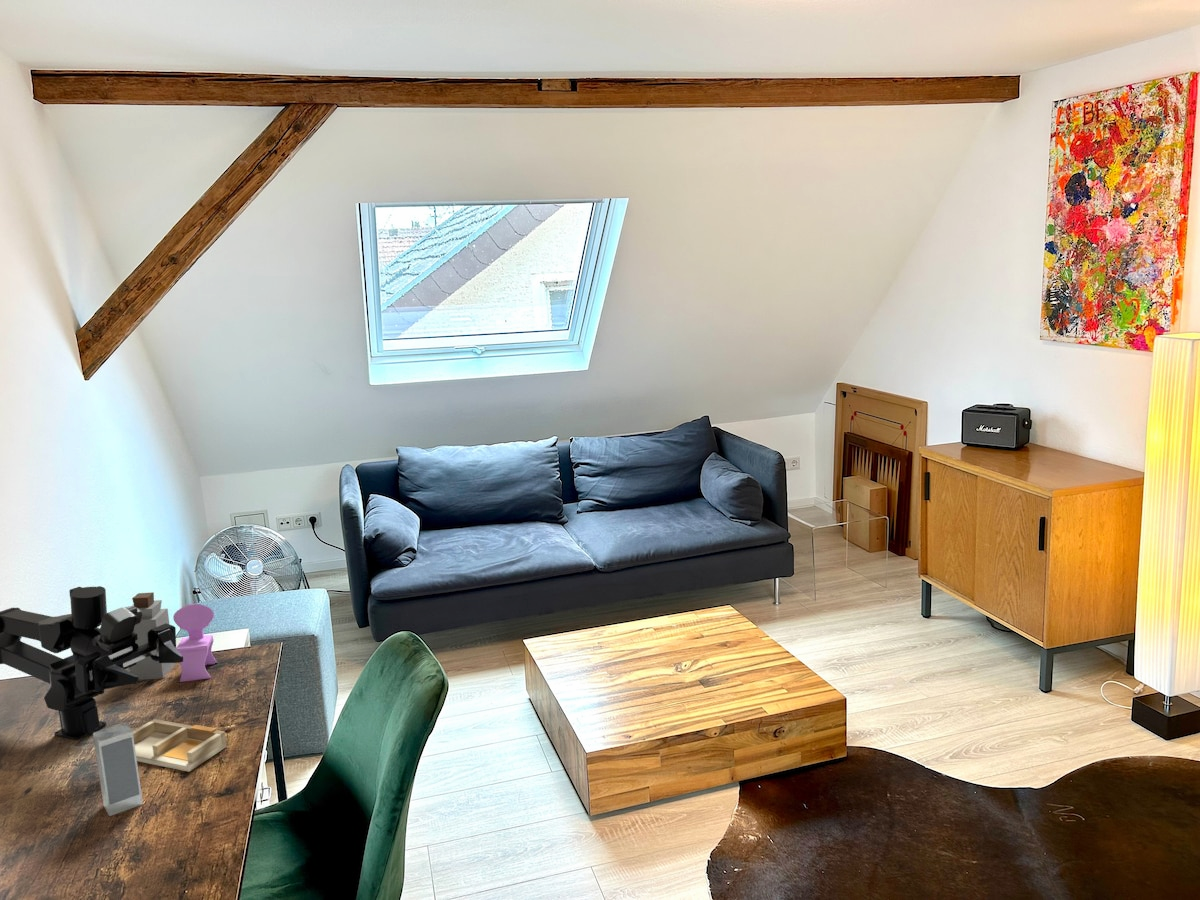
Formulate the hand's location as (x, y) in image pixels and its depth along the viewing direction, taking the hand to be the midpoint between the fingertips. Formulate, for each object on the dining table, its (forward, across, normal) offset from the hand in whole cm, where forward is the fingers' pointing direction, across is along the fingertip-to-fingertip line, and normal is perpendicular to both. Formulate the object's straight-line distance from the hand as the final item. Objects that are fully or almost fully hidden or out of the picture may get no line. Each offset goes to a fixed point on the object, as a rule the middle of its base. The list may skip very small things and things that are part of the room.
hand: (160, 669), depth 161 cm
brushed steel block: (+8, -14, +16) cm, 23 cm away
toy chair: (-24, +28, +20) cm, 42 cm away
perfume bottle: (-33, +24, +21) cm, 46 cm away
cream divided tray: (+1, +1, +17) cm, 17 cm away
